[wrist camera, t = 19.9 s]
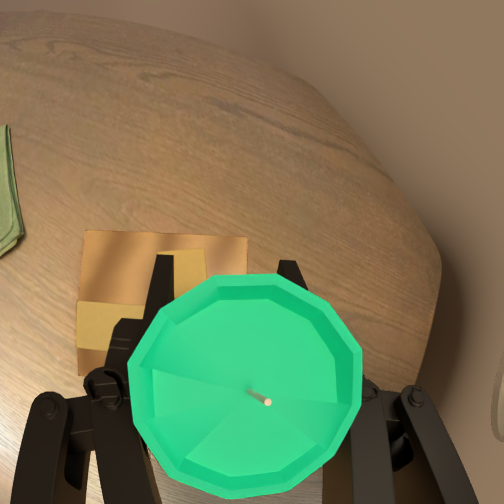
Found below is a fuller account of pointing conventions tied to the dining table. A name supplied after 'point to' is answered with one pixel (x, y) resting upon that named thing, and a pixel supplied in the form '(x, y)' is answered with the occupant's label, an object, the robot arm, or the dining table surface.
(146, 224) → the dining table surface
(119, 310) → the butter block
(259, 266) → the dining table surface
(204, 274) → the butter slice
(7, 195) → the dish towel
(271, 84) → the dining table surface
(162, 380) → the candle
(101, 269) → the butter board
